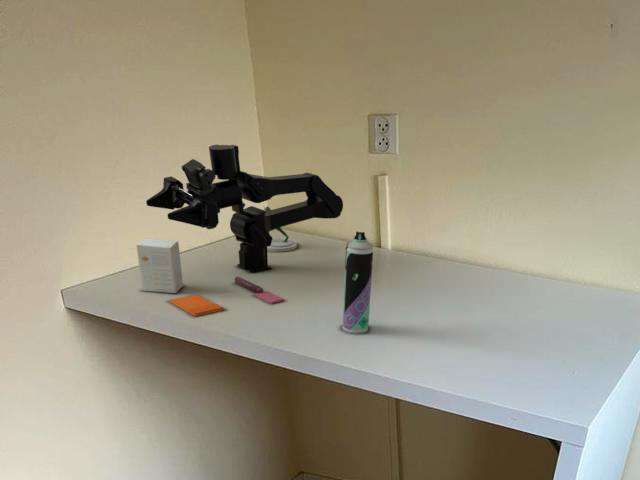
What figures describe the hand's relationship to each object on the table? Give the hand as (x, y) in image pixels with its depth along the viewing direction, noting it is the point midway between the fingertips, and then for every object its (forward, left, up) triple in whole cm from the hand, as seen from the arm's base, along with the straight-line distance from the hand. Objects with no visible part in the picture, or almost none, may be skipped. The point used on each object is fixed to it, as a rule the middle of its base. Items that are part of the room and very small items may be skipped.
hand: (157, 209), depth 150 cm
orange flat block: (+1, +16, -17) cm, 23 cm away
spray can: (-19, +46, -17) cm, 53 cm away
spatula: (-15, +16, -17) cm, 28 cm away
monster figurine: (-42, -14, -17) cm, 48 cm away
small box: (+2, +2, -17) cm, 17 cm away
